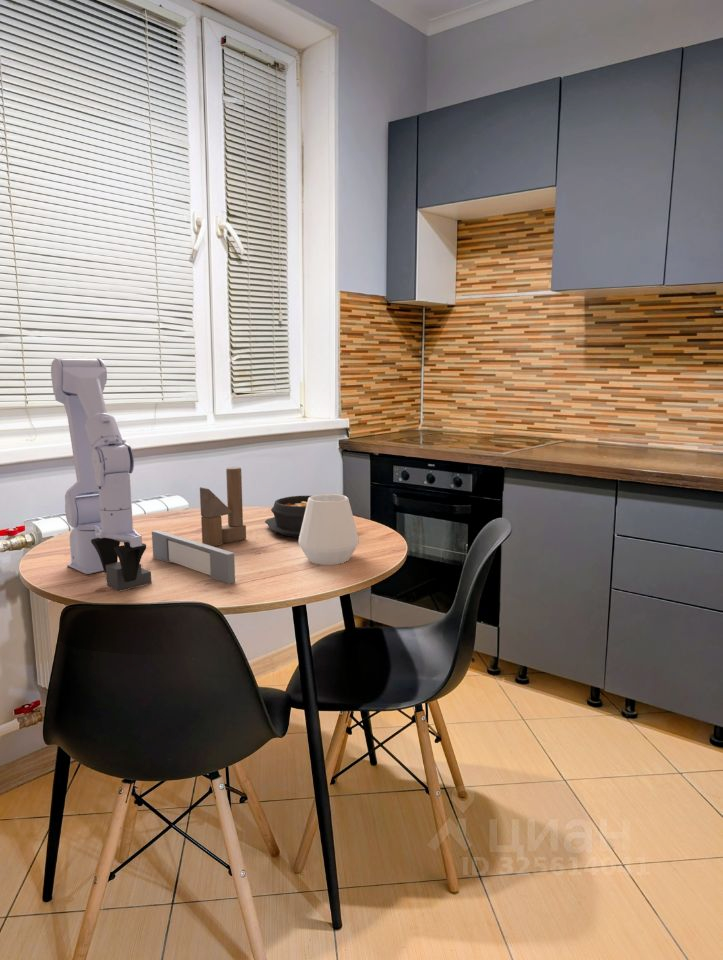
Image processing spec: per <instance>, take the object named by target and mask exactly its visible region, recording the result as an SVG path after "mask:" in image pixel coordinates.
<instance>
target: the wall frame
mask: <svg viewBox="0 0 723 960" xmlns="http://www.w3.org/2000/svg"><path fill="white" fill-rule="evenodd" d="M168 540H173V541H176V542H179V543H183V544H186V545H189V546H192V547H195V548H199V549H202V550H205V551H208V552H210V566H211V575H210V578H211V579H212V580H216V581H219V582H221V583H224V584H227V585H231V584H234V583H236V569H235V568H236V566H235V553H234V552H231V551H228V550H225V549H223V548H219V547H217V546H215V547H213V546H209V545H206V544H203V543H202V542H199V541H196V540H193V539H189V538H185V537H183V536H179V535H176V534H172V533H170V532H166V531H163V530H160V529H156V530H152V531H151V543H152V557H153V558H154V559H157V560H160V561H162V562H165V563H170V562H171V561H169V548H168ZM171 563H172V562H171Z"/></svg>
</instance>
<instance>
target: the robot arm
mask: <svg viewBox="0 0 723 960" xmlns="http://www.w3.org/2000/svg"><path fill="white" fill-rule="evenodd" d="M50 365H51V366H50V376H51V383H52V391H53V392H52V393H53V395H54V399H55V401H56V402H58V403H60V404H63V405H64V409H65V413H66V417H67V423H68V429H69V436H70V443H71V450H72V455H73V463H74V469H75V475H76V476H75V477H76V482H75V483H74V484H73V485H71V486H70V488H68V489H67V490H66V492H65V495H64V502H65V505H64V510H65V511H64V512H65V518H66V522H67V523H68V526H70V528H72V529H71V531H70V534H69V548H70V561H71V562H68V563H67V565H66V566H68V567H70V568H72V569H74V570H76V571H79V572H81V573H83V574H85V575H90V574H94V573H95V574H96V573H100V572H104V574H105V575H106V565H108V564H112V563H117V562H118V561H119V562H120V564H121V569H122V574H123V579H124V581H125V582H130V581H134V580H136V578H137V573H138V568H139V564H141V560H142V558H143V555H144V553H145V551H146V549H147V544H146V543H143V536H142V535H141V534H139V533H138V532H137V530H136V529H134V525H133V524H134V522H133V505H132V504H133V503H132V490H131V489H132V488H131V475H130V474H133V472H134V469H135V468H134V467H135V459H134V458H135V457H134V453H133V450H132V447H131V445H130V444H129V443H128V442H127V440H126V439H123V438H122V435H121V431H120V430H119V426H118V424H117V421H116V418H115V417H114V416H113V415H112V414H109V413H107V412H108V411H107V407H106V403H105V400H104V399H105V398H104V394H103V392H104V390H105V388H106V387H105V386H106V384H107V381H108V374H107V373H108V371H107V366H106V364H105V362H104V361H103V360H102V358H100V357H99V358H98V357H97V358H59V357H55V358H54V359H53V360H52V362H51V364H50ZM121 543H123V544H122V545H121Z"/></svg>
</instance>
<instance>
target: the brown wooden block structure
mask: <svg viewBox="0 0 723 960" xmlns="http://www.w3.org/2000/svg"><path fill="white" fill-rule="evenodd" d="M225 471H226V495H227V496H226V497H227V498H226V499H227V500H226V502H227V505H226V504H225V502H223V501H222V500H221V499H220V498H219V497H218V496H217V495H216V494H214V492H213V491H211V490H210V489H209V488H206V487H199V499H200V503H199V505H200V516H201V517H200V518H201V520H200V521H201V541H202V542H201V543H203V544H206V545H209V546H213V547H217V546H222V545H223V544H232V543H235V542H239V541H242V540H246V539H247V525H245V524H243V523H244V515H243V485H242V478H243V477H242V468H241V467H240V466H231V467H230V466H229V467H227V468H226V470H225ZM226 515H227V525H223V523H222V518H223V517H222V516H226Z"/></svg>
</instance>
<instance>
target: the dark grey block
mask: <svg viewBox="0 0 723 960" xmlns="http://www.w3.org/2000/svg"><path fill="white" fill-rule="evenodd" d="M105 576H106V586H107V587H108V588H109V589H112V590H114V591H116V592H123V591H127V590H130V589H135V588H137V587H142V586H146V585H149V584H152V572H151V571H150V570H148V569H145V568H142V564H141V563H139V568H138V573H137V578H136V580H134V581H130V582H125V581H124V579H123V574H122V569H121V564H120V561H119V562H117V563H112V564H108V565H106V574H105Z"/></svg>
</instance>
